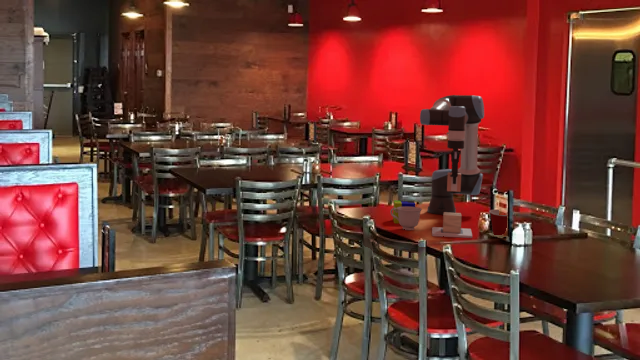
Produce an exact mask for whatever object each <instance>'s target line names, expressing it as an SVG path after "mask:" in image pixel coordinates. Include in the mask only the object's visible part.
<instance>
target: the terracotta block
mask: <svg viewBox="0 0 640 360" xmlns="http://www.w3.org/2000/svg"><path fill="white" fill-rule="evenodd" d="M450 175H452V173H448V180H447V191H451V177H450ZM457 177H458V178H457V191H454V192H460V190H461V173H458V176H457Z"/></svg>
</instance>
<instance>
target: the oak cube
mask: <svg viewBox="0 0 640 360" xmlns="http://www.w3.org/2000/svg"><path fill="white" fill-rule="evenodd" d="M442 215H443V216H442V227H443V232H450V233H461V228H462V213H461V212H456V213H448V212H444V214H442Z"/></svg>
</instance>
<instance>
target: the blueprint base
mask: <svg viewBox="0 0 640 360" xmlns="http://www.w3.org/2000/svg"><path fill="white" fill-rule="evenodd" d="M431 228H432V229H431V236H432V237H443V236H444V238H445V237H447V238H466V239H467V238H468V239H469V238H470V239H473V233H472V229H471V228H463V227H461V233H450V232H443V226H442V227H437V226H432V227H431Z"/></svg>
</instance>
